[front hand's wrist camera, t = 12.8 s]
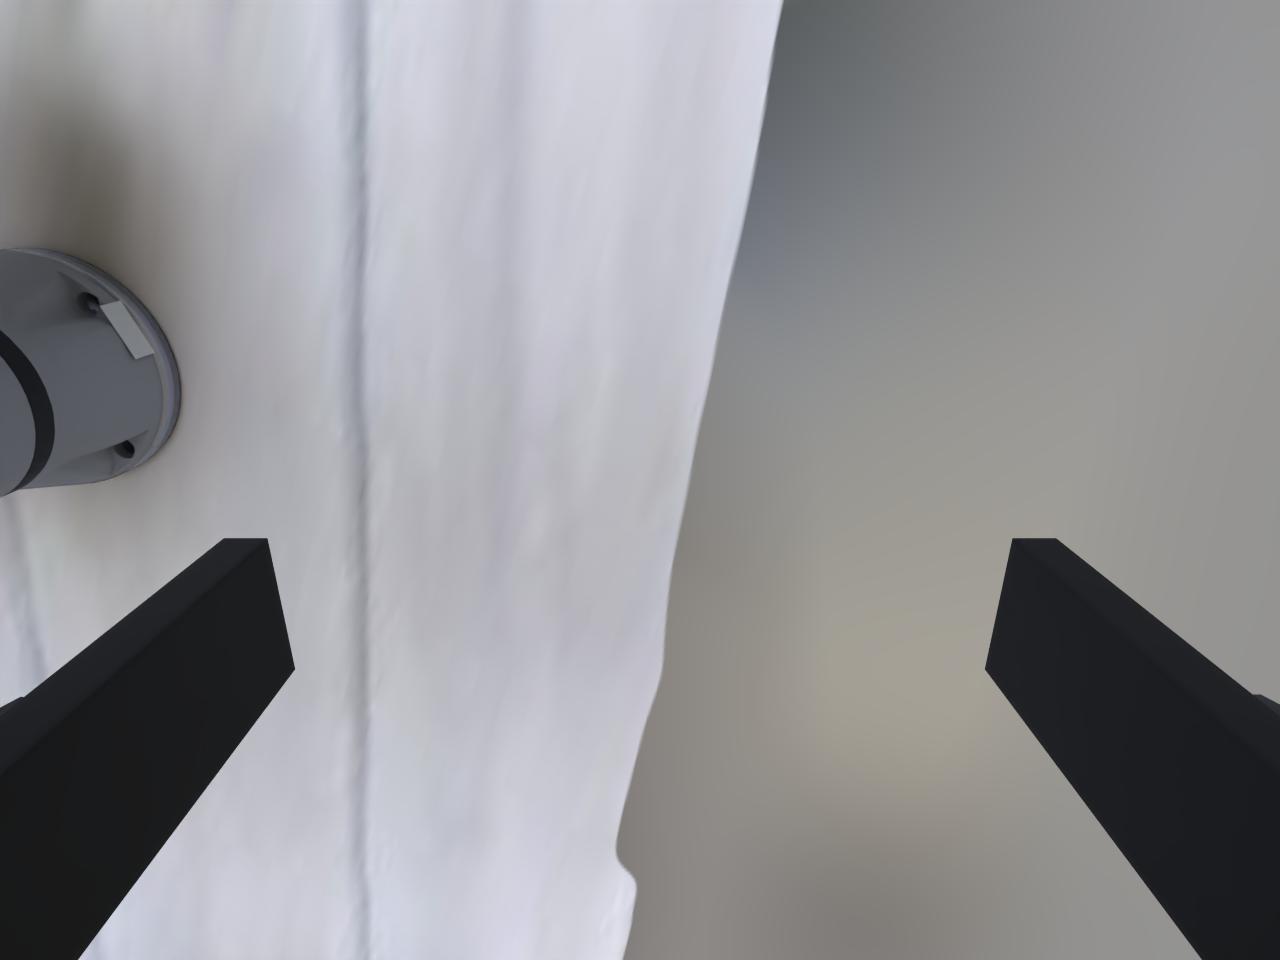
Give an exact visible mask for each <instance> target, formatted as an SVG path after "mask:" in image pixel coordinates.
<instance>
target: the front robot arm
mask: <svg viewBox="0 0 1280 960" xmlns="http://www.w3.org/2000/svg"><path fill="white" fill-rule="evenodd" d="M179 400H180V388H179V378H178V372H177V368H176V364H175V360H174V358H173V355H172V352H171V349H170V347H169V345H168V343H167V341H166V339H165V337H164V335H163V333H162V331H161V330H160V328H159V326H158V325H157V323H156V322H155V320H154V319H153V317H152V316H151V315H150V314H149V312H148V311H147V310H146V309H145V307H144V306H143V305H142V304H141V303H140V302H139V301H138V300H137V299H136V298H135V296H133V295H132V294H131V293H130V292H129V291H128V290H127V289H126V288H125V287H124V286H122V285H121V284H120V283H118V282H117V281H116V280H115V279H113V278H112V277H110V276H109V275H107V274H106V273H104V272H103V271H101V270H99V269H97V268H96V267H94V266H92V265H90V264H88V263H86V262H84V261H82V260H79V259H77V258H74V257H71V256H69V255H66V254H62V253H58V252H55V251H49V250H43V249H32V248H22V249H4V250H0V498H1V497H3V496H5V495H7V494H9V493H12V492H14V491H16V490H19V489H30V488H42V487H54V486H65V485H77V484H87V483H95V482H100V481H104V480H107V479H110V478H113V477H116V476H118V475H120V474H122V473H124V472H126V471H128V470H130V469H132V468H134V467H136V466H138V465H140V464H142V463H143V462H145V461H146V460H148V459H149V458H150V457H152V456H153V455H154V454H155V453H156V452H157V451H158V450H159V449H160V448H161V447H162V446H163V444H164V443H165V442H166V440H167V439H168V437H169V435H170V434H171V432H172V429H173V427H174V425H175V422H176V418H177V415H178V409H179ZM294 670H295V667H294V662H293V657H292V652H291V648H290V643H289V638H288V633H287V629H286V624H285V619H284V615H283V610H282V605H281V600H280V596H279V591H278V586H277V581H276V577H275V572H274V567H273V562H272V558H271V553H270V548H269V544H268V539H267V538H224V539H223V540H221V541H220V542H219V543H217V544H216V545H215V546H214V547H212V548H211V549H210V550H209V551H207V552H206V553H205V554H204V555H202V556H201V557H200V558H199V559H197V560H196V561H195V562H194V563H192V564H191V565H190V566H189V567H187V568H186V569H185V570H184V571H182V572H181V573H180V574H178V575H177V576H176V577H175V578H173V579H172V580H171V581H170V582H168V583H167V584H166V585H165V586H163V587H162V588H161V589H160V590H158V591H157V592H156V593H155V594H153V595H152V596H151V597H150V598H148V599H147V600H146V601H145V602H143V603H142V604H141V605H139V606H138V607H137V608H136V609H134V610H133V611H132V612H131V613H129V614H128V615H127V616H126V617H124V618H123V619H122V620H121V621H119V622H118V623H117V624H116V625H114V626H113V627H112V628H111V629H109V630H108V631H107V632H106V633H104V634H103V635H102V636H100V637H99V638H98V639H97V640H95V641H94V642H93V643H92V644H90V645H89V646H88V647H87V648H85V649H84V650H83V651H82V652H80V653H79V654H78V655H77V656H75V657H74V658H73V659H72V660H70V661H69V662H68V663H67V664H65V665H64V666H63V667H61V668H60V669H59V670H58V671H56V672H55V673H54V674H53V675H51V676H50V677H49V678H48V679H46V680H45V681H44V682H43V683H41V684H40V685H39V686H38V687H36V688H35V689H34V690H33V691H31V692H30V693H29V694H28V695H26V696H25V697H19V698H18V699H16V700H14V701H12V702H10V703H8V704H6V705H4V706H2V707H1V708H0V960H78V959H79V958H80V956H81V955H82V954H83V952H84V951H85V950H86V948H87V947H88V946H89V944H90V943H91V942H92V940H93V939H94V938H95V936H96V935H97V934H98V932H99V931H100V930H101V928H102V927H103V926H104V924H105V923H106V922H107V920H108V919H109V917H110V916H111V915H112V913H113V912H114V911H115V909H116V908H117V907H118V905H119V904H120V903H121V901H122V900H123V899H124V897H125V896H126V895H127V893H128V892H129V891H130V889H131V888H132V887H133V885H134V884H135V883H136V881H137V880H138V879H139V877H140V876H141V875H142V873H143V872H144V871H145V869H146V868H147V867H148V865H149V864H150V863H151V861H152V860H153V859H154V857H155V856H156V855H157V853H158V852H159V851H160V849H161V848H162V847H163V845H164V844H165V843H166V841H167V840H168V839H169V837H170V836H171V835H172V833H173V832H174V831H175V829H176V828H177V827H178V825H179V824H180V822H181V821H182V820H183V818H184V817H185V816H186V814H187V813H188V812H189V810H190V809H191V808H192V806H193V805H194V804H195V802H196V801H197V800H198V798H199V797H200V796H201V794H202V793H203V792H204V790H205V789H206V788H207V786H208V785H209V784H210V782H211V781H212V780H213V778H214V777H215V776H216V774H217V773H218V772H219V770H220V769H221V768H222V766H223V765H224V764H225V762H226V761H227V760H228V758H229V757H230V756H231V754H232V753H233V752H234V750H235V749H236V748H237V746H238V745H239V744H240V742H241V741H242V740H243V738H244V737H245V736H246V734H247V733H248V732H249V730H250V729H251V727H252V726H253V725H254V723H255V722H256V721H257V719H258V718H259V717H260V715H261V714H262V713H263V711H264V710H265V709H266V707H267V706H268V705H269V703H270V702H271V701H272V699H273V698H274V697H275V695H276V694H277V693H278V691H279V690H280V689H281V687H282V686H283V685H284V683H285V682H286V681H287V679H288V678H289V677H290V675H291V674H292V673H293V671H294ZM985 670H986V671H987V673H988V674H989V675H990V677H991V678H992V679H993V681H994V682H995V683H996V685H997V686H998V687H999V689H1000V690H1001V691H1002V693H1003V694H1004V695H1005V697H1006V698H1007V699H1008V701H1009V702H1010V703H1011V705H1012V706H1013V707H1014V709H1015V710H1016V711H1017V713H1018V714H1019V715H1020V717H1021V718H1022V719H1023V721H1024V722H1025V723H1026V725H1027V726H1028V727H1029V729H1030V730H1031V731H1032V733H1033V734H1034V736H1035V737H1036V738H1037V739H1038V741H1039V742H1040V744H1041V745H1042V746H1043V747H1044V749H1045V750H1046V752H1047V753H1048V754H1049V756H1050V757H1051V758H1052V760H1053V761H1054V762H1055V764H1056V765H1057V766H1058V768H1059V769H1060V770H1061V772H1062V773H1063V774H1064V776H1065V777H1066V778H1067V780H1068V781H1069V782H1070V784H1071V785H1072V786H1073V788H1074V789H1075V790H1076V792H1077V793H1078V794H1079V796H1080V797H1081V798H1082V800H1083V801H1084V802H1085V804H1086V805H1087V806H1088V808H1089V809H1090V810H1091V812H1092V813H1093V814H1094V816H1095V817H1096V818H1097V820H1098V821H1099V822H1100V824H1101V825H1102V826H1103V828H1104V829H1105V831H1106V832H1107V833H1108V835H1109V836H1110V837H1111V838H1112V840H1113V841H1114V843H1115V844H1116V845H1117V847H1118V848H1119V849H1120V851H1121V852H1122V853H1123V855H1124V856H1125V857H1126V859H1127V860H1128V861H1129V863H1130V864H1131V865H1132V867H1133V868H1134V869H1135V871H1136V872H1137V873H1138V875H1139V876H1140V877H1141V879H1142V880H1143V881H1144V883H1145V884H1146V885H1147V887H1148V888H1149V889H1150V891H1151V892H1152V893H1153V895H1154V896H1155V897H1156V899H1157V900H1158V901H1159V903H1160V904H1161V905H1162V907H1163V908H1164V909H1165V911H1166V912H1167V913H1168V915H1169V916H1170V917H1171V919H1172V920H1173V921H1174V923H1175V924H1176V926H1177V927H1178V928H1179V930H1180V931H1181V932H1182V934H1183V935H1184V936H1185V938H1186V939H1187V940H1188V942H1189V943H1190V944H1191V946H1192V947H1193V948H1194V950H1195V951H1196V952H1197V954H1198V955H1199V956H1200V958H1201V959H1202V960H1280V704H1278V703H1276V702H1274V701H1272V700H1270V699H1268V698H1266V697H1264V696H1263V695H1252V694H1251V693H1250V692H1249V691H1247V690H1246V689H1245V688H1244V687H1242V686H1241V685H1240V684H1239V683H1237V682H1236V681H1235V680H1234V679H1232V678H1231V677H1230V676H1229V675H1227V674H1226V673H1225V672H1223V671H1222V670H1221V669H1220V668H1219V667H1217V666H1216V665H1215V664H1213V663H1212V662H1211V661H1210V660H1208V659H1207V658H1206V657H1205V656H1203V655H1202V654H1201V653H1200V652H1198V651H1197V650H1196V649H1195V648H1193V647H1192V646H1191V645H1190V644H1188V643H1187V642H1186V641H1185V640H1183V639H1182V638H1181V637H1179V636H1178V635H1177V634H1176V633H1174V632H1173V631H1172V630H1171V629H1169V628H1168V627H1167V626H1166V625H1164V624H1163V623H1162V622H1161V621H1159V620H1158V619H1157V618H1156V617H1154V616H1153V615H1152V614H1151V613H1149V612H1148V611H1147V610H1145V609H1144V608H1143V607H1142V606H1141V605H1139V604H1138V603H1137V602H1135V601H1134V600H1133V599H1132V598H1130V597H1129V596H1128V595H1127V594H1125V593H1124V592H1123V591H1122V590H1120V589H1119V588H1118V587H1117V586H1115V585H1114V584H1113V583H1112V582H1110V581H1109V580H1108V579H1107V578H1105V577H1104V576H1103V575H1102V574H1100V573H1099V572H1098V571H1096V570H1095V569H1094V568H1093V567H1091V566H1090V565H1089V564H1088V563H1086V562H1085V561H1084V560H1083V559H1081V558H1080V557H1079V556H1078V555H1076V554H1075V553H1074V552H1073V551H1071V550H1070V549H1069V548H1067V547H1066V546H1065V545H1064V544H1063V543H1061V542H1060V541H1059V540H1057V539H1056V538H1013V539H1012V544H1011V548H1010V553H1009V558H1008V563H1007V567H1006V572H1005V577H1004V581H1003V586H1002V591H1001V596H1000V600H999V605H998V610H997V614H996V619H995V624H994V629H993V633H992V638H991V643H990V648H989V653H988V657H987V662H986V667H985Z"/></svg>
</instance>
